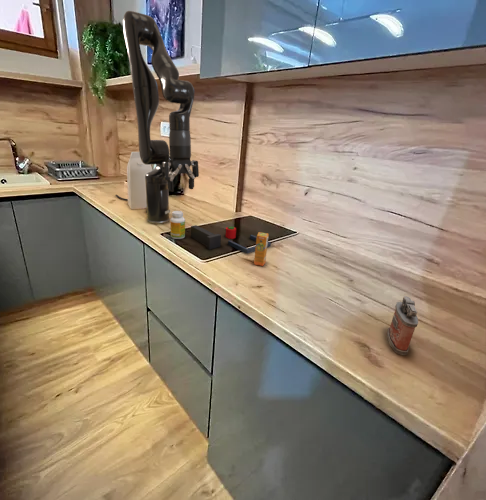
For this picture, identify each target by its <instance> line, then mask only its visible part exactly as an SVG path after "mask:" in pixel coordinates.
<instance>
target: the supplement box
mask: <svg viewBox="0 0 486 500" xmlns="http://www.w3.org/2000/svg"><path fill="white" fill-rule="evenodd" d="M269 236H270V235H269V233H266V232H262V231H258V232H257V234H256V237H257V239H256V241H255V246H256V248H255V251H254V260H253V265H256V266H262V267H264V265H265V263H266V260H267V251H268V247H267V244H268V242H269Z"/></svg>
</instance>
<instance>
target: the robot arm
mask: <svg viewBox="0 0 486 500" xmlns="http://www.w3.org/2000/svg"><path fill="white" fill-rule="evenodd" d="M122 28H123V36H124V41H125V46H126V49H127V56H128V60H129V67H130V74H131V81H132V82H131V83H132V84H131V85H132V92H133V100H134V107H135V113H136V122H137V140H138V141H137V143H138V152H139V153H140V158H141V161H142V162H143V163H144V164H145V165H151V166H152V165H155V167H154V168H152V171H150V172H148V173H147V174H146V175H145V184H146V204H147V208H146V211H145V212H146V220H147V223H149V224H153V225H164V224H167V223H170V213H171V209H170V200H169V199H170V198H169V196H170V195H169V192H170V193H173V192H174V191H175V188H174V187H175V186H174V185H175V184H174V179H175V178H176V177H177V175H181V174H185V175H186V176H187V177H188V181H187V182H188V189H189V190H194V188H195V179H196V178H199V176H200V174H199V173H200V172H199V171H200V170H199V161H198V160H195V159H192V160H191V157H192V140H191V139H192V138H191V137H192V136H191V125H190V124H191V119H190V118H191V114H192V109H193V105H194V101H195V93H196V92H195V88H194V86H193V84H192V82H190V81H189V80H182V79H180V73H179V70H178V68H177V66H176V64H175V63H174V61H173V60H172V58H171V56H170V54H169V53H168V51H167V47H166V45H165V43H164V39H163V37H162V34H161V31H160V29H159V27H158V24H157V22H156V20H155V19H154V18H153V17H152V16H150V15H148V14H145V13H140V12H138V11H133V10H127V11H125V13H124V14H123V18H122ZM141 46H144V47H145V46H147V47H149V48H150V49H151V50H152V52H151V58H150V62H151V67H152V69H153V71H154V73H155V75H156V76H157V78H158V80H159V83H160V87H161V94H162V96H163V99H164V100H165V101H167V102H168V103H170V104H178V105H179V107H178V110H174V111H171V112H170V113H169V115H168V123H169V134H168V143H169V144H168V143H167V141H166V140H163V139H152V138H151V126H152V123H153V120H154V118H155V116H156V114H157V112H158V109H159V107H160V93H159V87H158V86H159V85H158V83H157V80H156V78H155V76H154V74H153V73H152V70H151V69H150V68H149V66H148V64H147V63H146V61H145V58H144V57H143V52H142V50H141ZM170 168H171V169H170ZM115 197H117V198H118V199H120V200H123V201H126V202H128V198H124V197H121V196H119V195H118V194H115Z"/></svg>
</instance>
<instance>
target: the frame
mask: <svg viewBox="0 0 486 500" xmlns="http://www.w3.org/2000/svg"><path fill="white" fill-rule="evenodd" d="M256 239H257V235H253V234H250V235H249V240H252V241H254V242H256ZM227 245H228V246H230V247H232V248H234V249H236V250H238V251H239V252H242V253H244V254H247V255H248V254H251V253H253V252H254V253H255V248H256V245H254V246H250V247H245V246H243V245H241V244H239V243H237V242H235V241H233V240H232V239H229V240H228V241H227ZM271 246H272V242H270V241H268V244H267V248H270V247H271Z"/></svg>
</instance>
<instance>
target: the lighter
mask: <svg viewBox="0 0 486 500" xmlns="http://www.w3.org/2000/svg"><path fill="white" fill-rule="evenodd" d="M394 307H395V308H394V313H393V315H392V319H391V322H390V325H389V327H387V332H386V337H387V341H388V343H389V347H391V349H392V351H394V353H396V354H398V355H401V356H406V355H408V354H409V353H408V352H409V346H410V343H411V340H412V338H413V335H414V333H415V329H416V328H417V327H418V326H419V325H418V324H419V319H418V311H417V309H416V302H415V300H412V299H411V297H410V296H408V295H404V296H403V297H402V301H397V302H396V303H395V306H394Z"/></svg>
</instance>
